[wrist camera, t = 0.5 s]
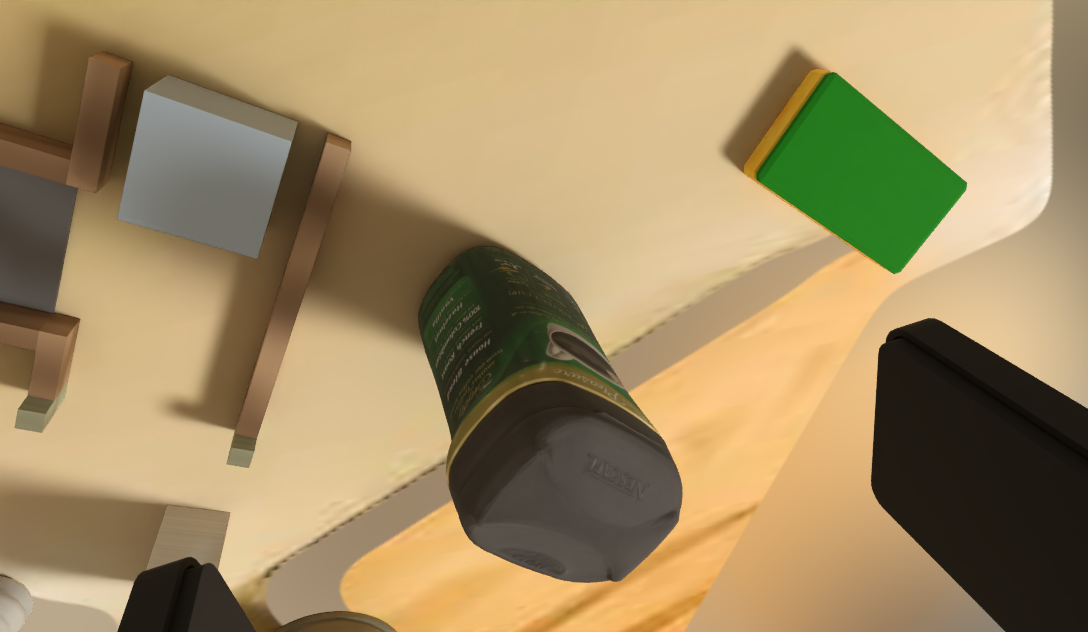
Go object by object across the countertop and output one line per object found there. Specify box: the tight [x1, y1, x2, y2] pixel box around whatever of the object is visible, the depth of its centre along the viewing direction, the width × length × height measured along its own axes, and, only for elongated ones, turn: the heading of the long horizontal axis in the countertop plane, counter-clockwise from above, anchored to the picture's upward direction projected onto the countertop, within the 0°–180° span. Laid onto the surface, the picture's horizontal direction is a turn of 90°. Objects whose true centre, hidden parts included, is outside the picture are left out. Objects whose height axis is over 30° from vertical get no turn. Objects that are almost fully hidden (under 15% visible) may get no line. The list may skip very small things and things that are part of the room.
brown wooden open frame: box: [0, 51, 351, 468], centre depth 34 cm, size 19×18×3 cm
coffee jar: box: [418, 246, 682, 583], centre depth 35 cm, size 10×8×19 cm
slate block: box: [117, 75, 298, 259], centre depth 33 cm, size 6×6×4 cm
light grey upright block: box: [146, 505, 230, 570], centre depth 41 cm, size 4×7×10 cm, turn 157°
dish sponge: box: [743, 69, 967, 274], centre depth 44 cm, size 7×14×2 cm, turn 57°
